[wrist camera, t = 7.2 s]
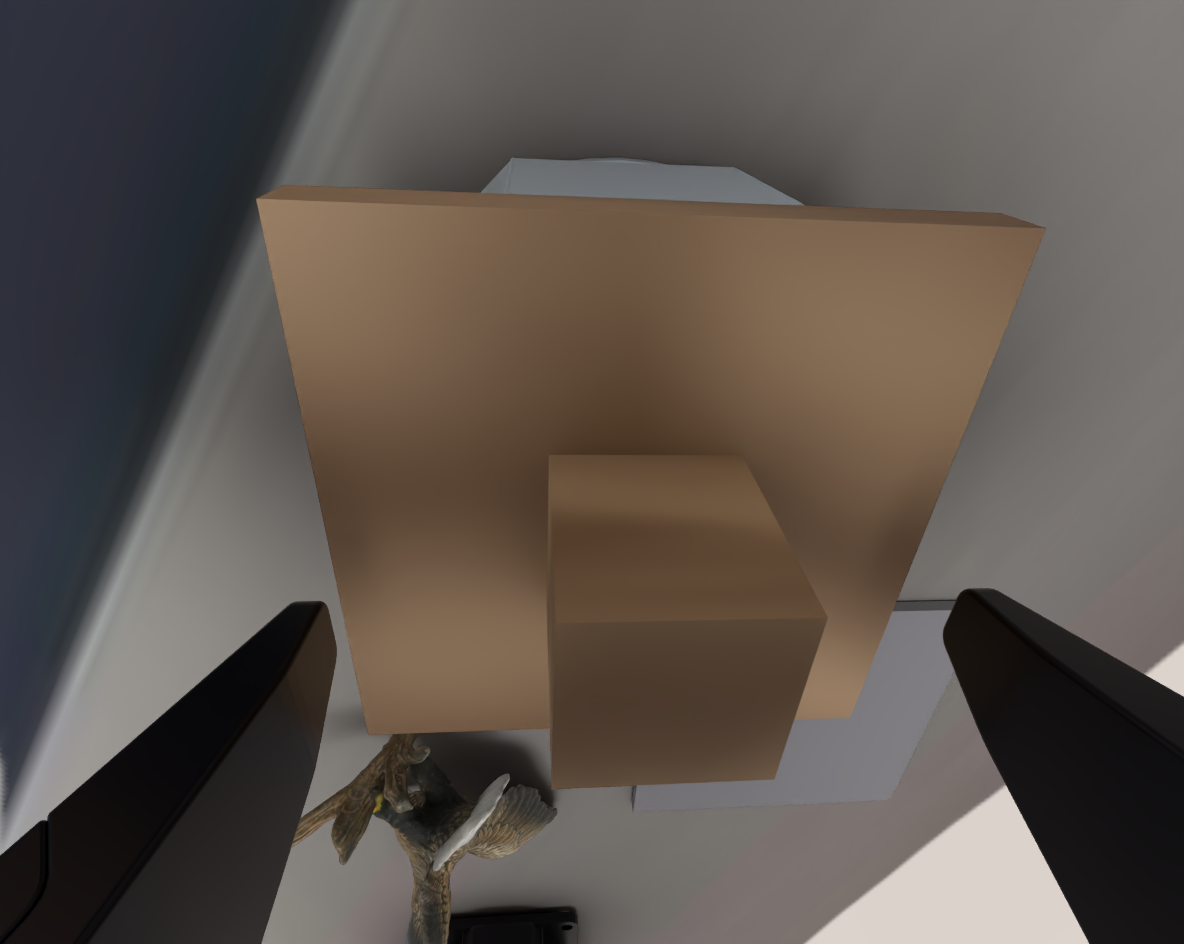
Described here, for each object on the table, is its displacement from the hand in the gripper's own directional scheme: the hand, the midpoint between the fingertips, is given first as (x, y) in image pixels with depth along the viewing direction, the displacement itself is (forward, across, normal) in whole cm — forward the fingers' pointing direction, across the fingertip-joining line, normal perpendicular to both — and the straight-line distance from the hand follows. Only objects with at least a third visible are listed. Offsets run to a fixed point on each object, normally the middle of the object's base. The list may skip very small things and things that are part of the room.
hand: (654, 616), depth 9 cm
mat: (+7, -7, +12) cm, 16 cm away
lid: (+3, 0, 0) cm, 3 cm away
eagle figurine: (+8, +5, +15) cm, 17 cm away
